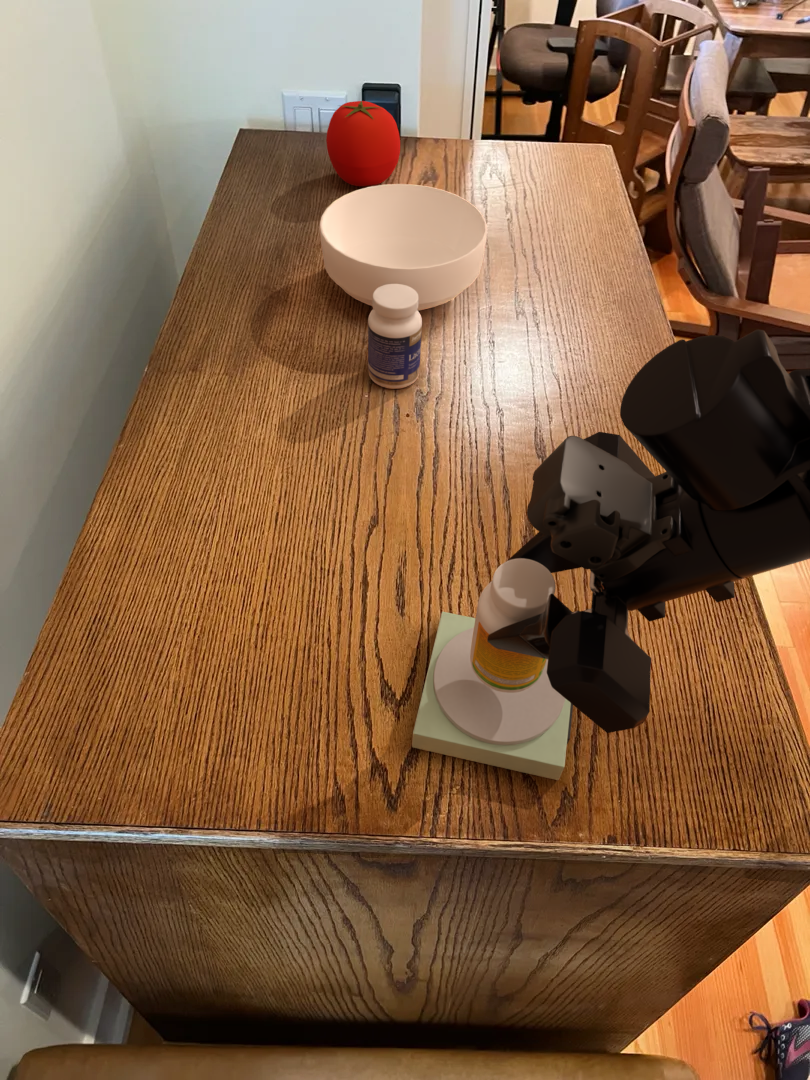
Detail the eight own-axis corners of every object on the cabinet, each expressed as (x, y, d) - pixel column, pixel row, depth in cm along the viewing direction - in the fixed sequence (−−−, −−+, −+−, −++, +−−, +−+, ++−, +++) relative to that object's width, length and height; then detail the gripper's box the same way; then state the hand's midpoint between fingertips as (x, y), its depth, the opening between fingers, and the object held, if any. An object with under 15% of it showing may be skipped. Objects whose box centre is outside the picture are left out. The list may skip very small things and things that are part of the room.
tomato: (363, 157, 119) (362, 81, 110) (413, 181, 114) (415, 103, 106) (312, 180, 114) (307, 101, 105) (362, 205, 109) (361, 126, 101)
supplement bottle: (550, 693, 54) (575, 616, 47) (474, 697, 54) (487, 620, 46) (536, 628, 58) (558, 547, 50) (465, 632, 57) (476, 550, 50)
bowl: (293, 277, 97) (287, 212, 91) (415, 231, 105) (418, 169, 99) (385, 354, 88) (386, 289, 81) (512, 298, 95) (522, 234, 89)
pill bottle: (419, 391, 84) (423, 312, 76) (366, 390, 83) (365, 310, 76) (419, 359, 87) (423, 280, 80) (369, 357, 87) (368, 278, 79)
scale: (574, 654, 63) (582, 634, 61) (561, 781, 56) (569, 764, 54) (440, 627, 64) (442, 606, 62) (411, 747, 57) (412, 729, 55)
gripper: (648, 320, 43) (444, 435, 53) (637, 580, 31) (379, 664, 41) (743, 446, 48) (541, 529, 58) (764, 710, 36) (506, 757, 46)
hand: (497, 606), depth 51 cm, fingers closed on supplement bottle, 5 cm apart
